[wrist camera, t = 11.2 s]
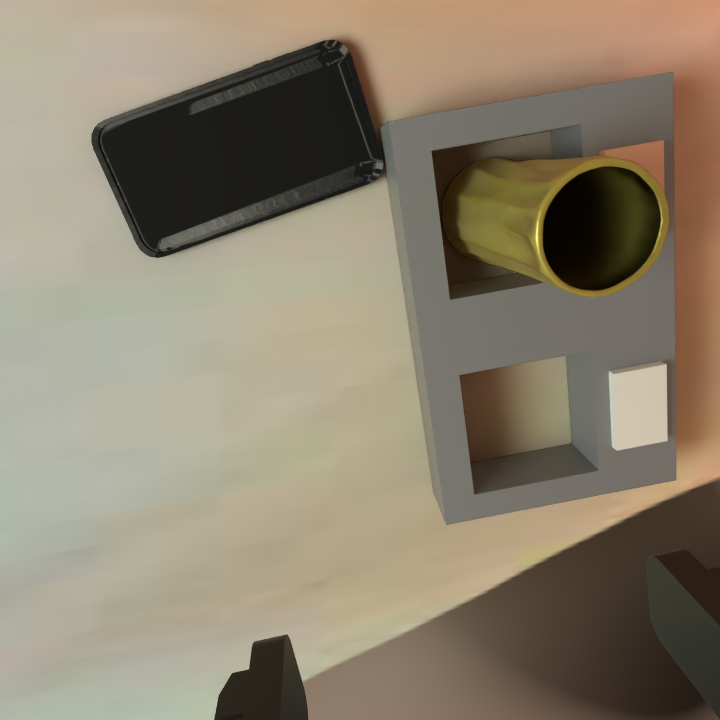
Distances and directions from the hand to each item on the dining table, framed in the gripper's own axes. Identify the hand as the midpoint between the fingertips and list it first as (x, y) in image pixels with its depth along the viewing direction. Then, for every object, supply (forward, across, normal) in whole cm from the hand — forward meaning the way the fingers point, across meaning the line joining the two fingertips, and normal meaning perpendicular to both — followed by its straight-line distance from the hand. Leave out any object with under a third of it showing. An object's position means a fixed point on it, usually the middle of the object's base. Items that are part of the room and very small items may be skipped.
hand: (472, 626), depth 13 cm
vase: (+26, -9, -6) cm, 28 cm away
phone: (+26, +5, -12) cm, 29 cm away
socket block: (+26, -10, 0) cm, 28 cm away
